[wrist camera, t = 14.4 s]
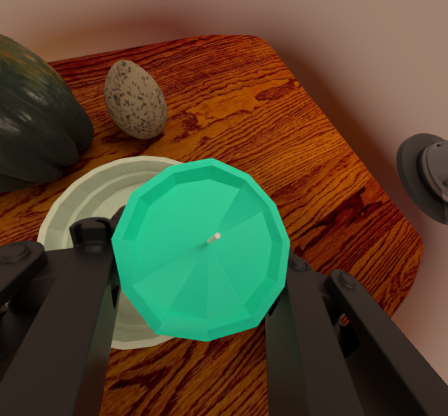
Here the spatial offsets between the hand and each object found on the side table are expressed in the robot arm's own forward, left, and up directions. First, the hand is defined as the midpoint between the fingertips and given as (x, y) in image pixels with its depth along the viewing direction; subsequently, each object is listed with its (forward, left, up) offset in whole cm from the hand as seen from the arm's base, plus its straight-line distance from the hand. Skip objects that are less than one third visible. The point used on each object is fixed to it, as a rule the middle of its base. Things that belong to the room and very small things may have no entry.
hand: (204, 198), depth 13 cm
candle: (-1, +4, -4) cm, 5 cm away
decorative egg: (+11, -12, -13) cm, 21 cm away
